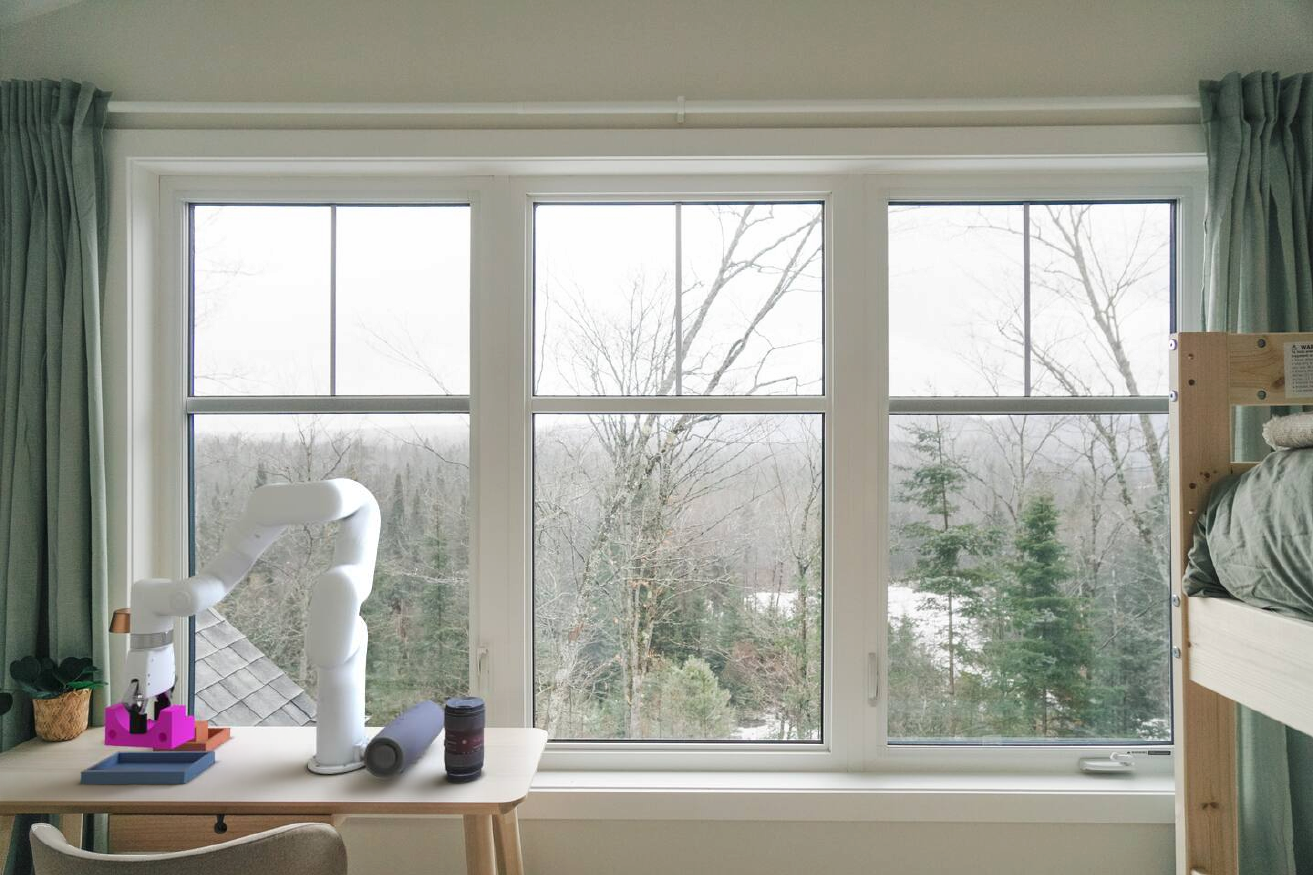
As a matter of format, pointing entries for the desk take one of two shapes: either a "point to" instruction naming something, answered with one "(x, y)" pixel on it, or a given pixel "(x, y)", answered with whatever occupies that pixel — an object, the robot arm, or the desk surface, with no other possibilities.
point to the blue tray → (148, 767)
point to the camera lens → (464, 738)
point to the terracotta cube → (200, 732)
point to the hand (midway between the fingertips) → (150, 726)
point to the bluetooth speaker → (404, 740)
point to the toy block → (149, 728)
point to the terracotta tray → (214, 740)
